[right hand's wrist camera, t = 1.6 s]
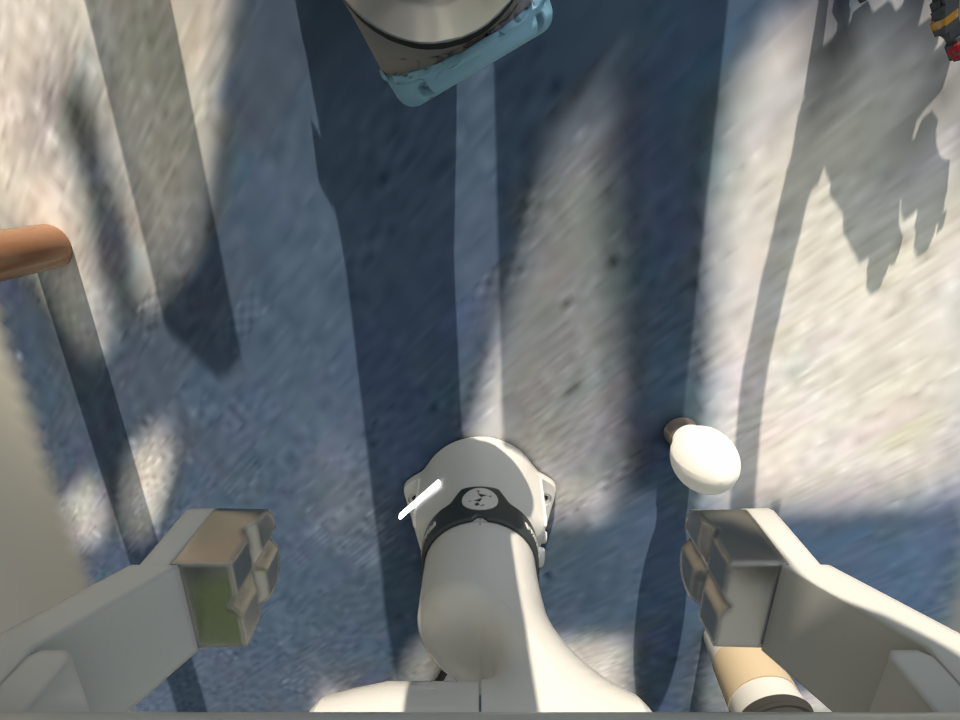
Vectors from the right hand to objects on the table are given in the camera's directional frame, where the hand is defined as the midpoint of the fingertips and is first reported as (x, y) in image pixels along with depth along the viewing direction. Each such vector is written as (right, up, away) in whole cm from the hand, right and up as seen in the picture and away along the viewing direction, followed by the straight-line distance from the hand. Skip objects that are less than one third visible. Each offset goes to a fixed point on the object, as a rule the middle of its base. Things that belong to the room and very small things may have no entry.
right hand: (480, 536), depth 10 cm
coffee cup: (+35, -35, +64) cm, 81 cm away
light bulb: (+24, -5, +53) cm, 58 cm away
